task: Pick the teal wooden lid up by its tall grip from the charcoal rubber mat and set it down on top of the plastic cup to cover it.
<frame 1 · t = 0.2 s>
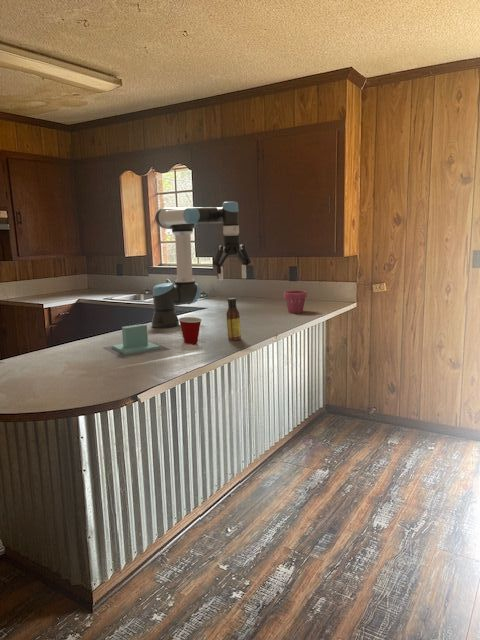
hand: (232, 279, 237), 28 cm above the table, tool pointing down, fingers open, 13 cm apart
lid: (135, 348, 218), point 1 cm above the table, touching mat
plastic cup: (191, 344, 227), on the table
plant pot: (295, 312, 307), on the table
mat: (136, 350, 218), on the table
sauce bottle: (234, 339, 234), on the table
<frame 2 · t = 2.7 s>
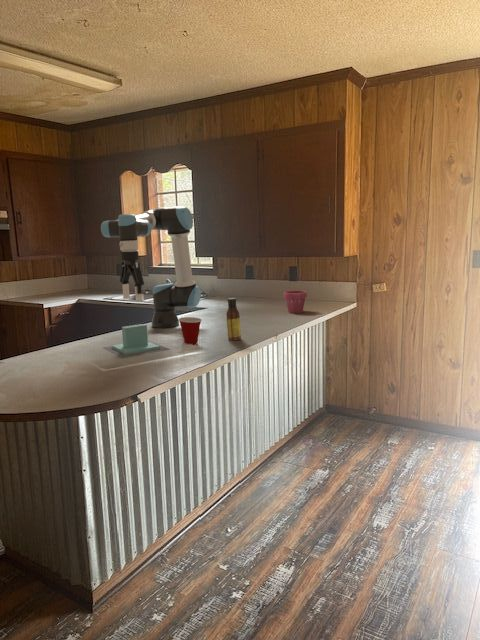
hand: (132, 300, 214), 23 cm above the table, tool pointing down, fingers open, 13 cm apart
nothing on the table moved.
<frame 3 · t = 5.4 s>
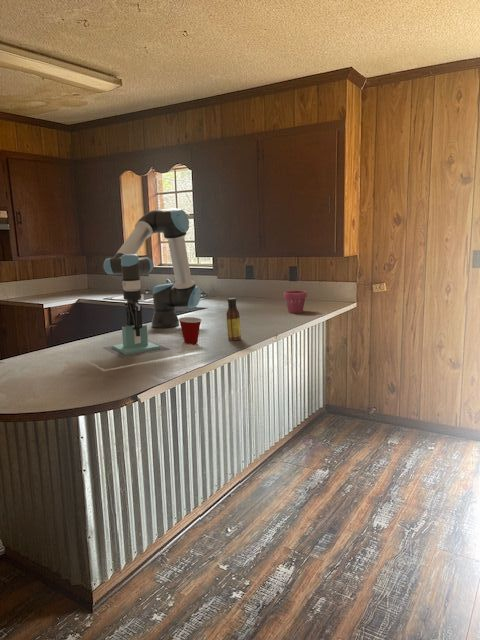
hand: (135, 342, 217), 4 cm above the table, tool pointing down, fingers closed on lid, 4 cm apart
lid: (135, 348, 218), point 1 cm above the table, touching gripper, mat
everything else where it was.
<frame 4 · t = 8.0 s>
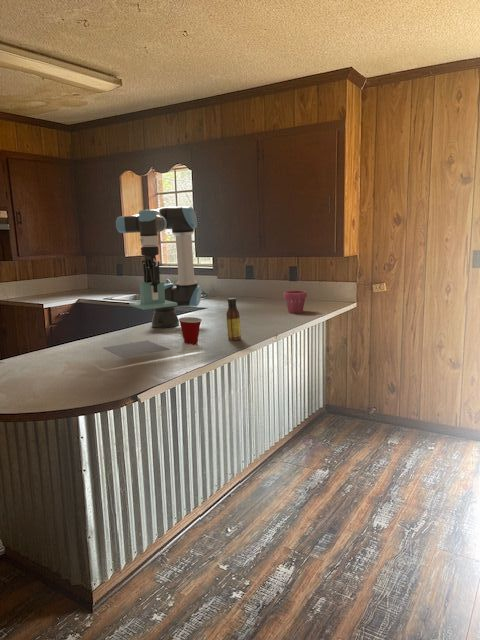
hand: (152, 299, 218), 22 cm above the table, tool pointing down, fingers closed on lid, 4 cm apart
lid: (153, 305, 218), point 19 cm above the table, touching gripper
everything else where it was.
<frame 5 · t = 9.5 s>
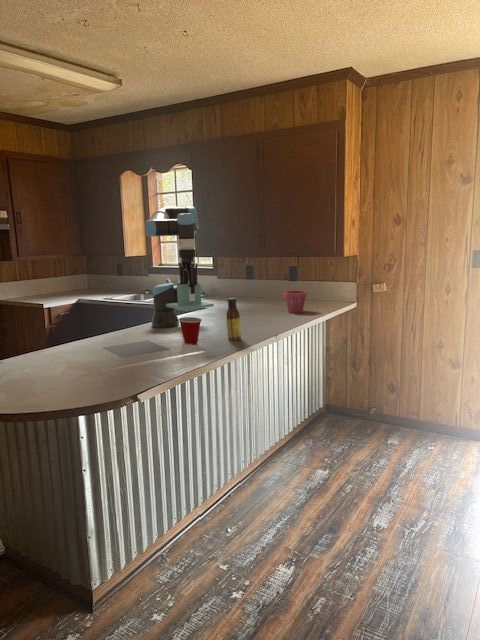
hand: (189, 300, 224), 20 cm above the table, tool pointing down, fingers closed on lid, 4 cm apart
lid: (189, 306, 224), point 18 cm above the table, touching gripper
everything else where it was.
when the fingers open (17 cm above the table, at t = 10.7 s): lid drops 2 cm, resting on plastic cup.
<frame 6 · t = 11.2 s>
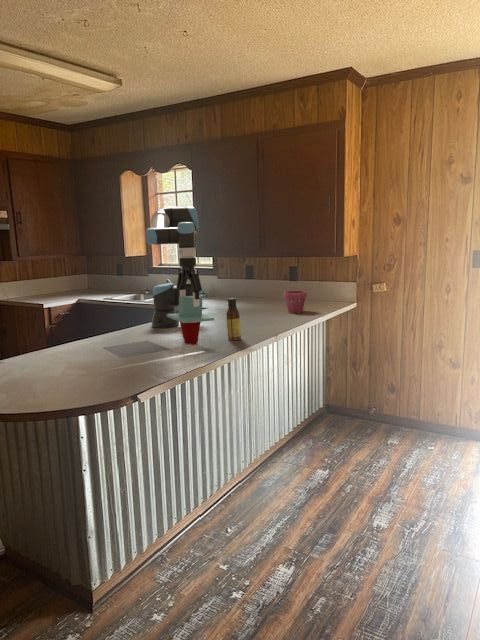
hand: (189, 305, 224), 18 cm above the table, tool pointing down, fingers open, 11 cm apart
lid: (190, 318, 225), point 12 cm above the table, touching plastic cup
plastic cup: (191, 344, 227), on the table, touching lid
everything else where it was.
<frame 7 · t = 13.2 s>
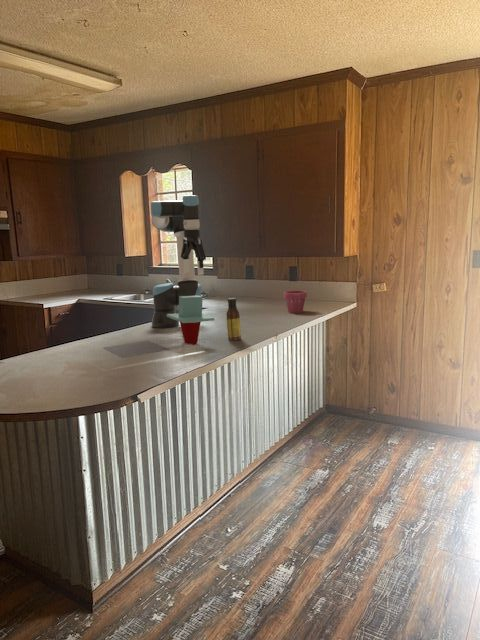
hand: (193, 273, 236), 31 cm above the table, tool pointing down, fingers open, 13 cm apart
nothing on the table moved.
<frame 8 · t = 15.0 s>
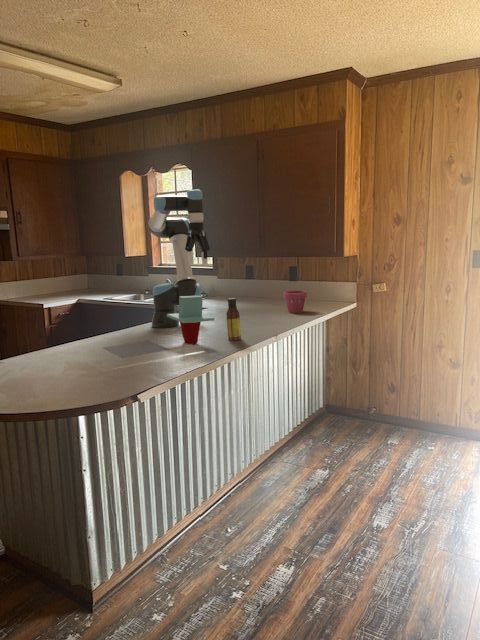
hand: (197, 264, 247), 35 cm above the table, tool pointing down, fingers open, 13 cm apart
nothing on the table moved.
at the end: lid 0.0 cm off-centre on the plastic cup, point 12.2 cm above the plastic cup's base; lid tilted 4°; the gripper is holding nothing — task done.
